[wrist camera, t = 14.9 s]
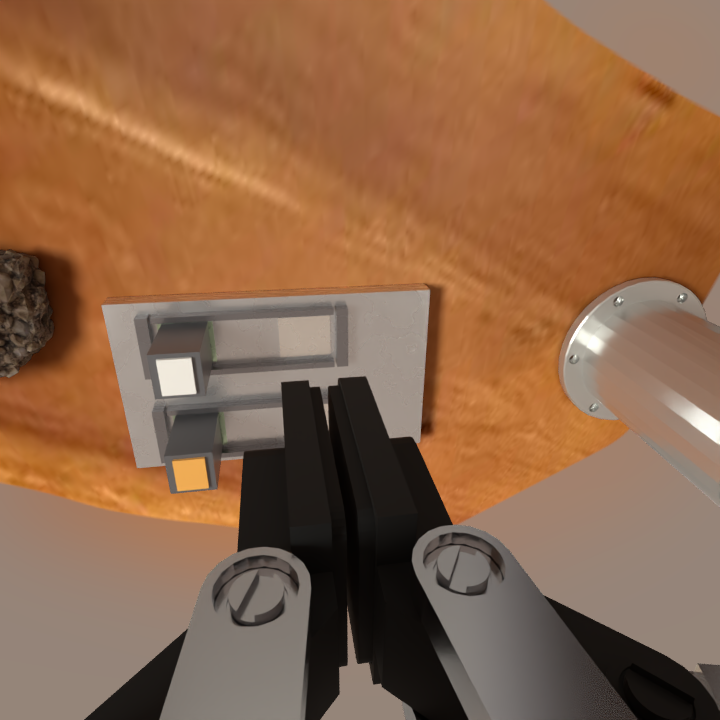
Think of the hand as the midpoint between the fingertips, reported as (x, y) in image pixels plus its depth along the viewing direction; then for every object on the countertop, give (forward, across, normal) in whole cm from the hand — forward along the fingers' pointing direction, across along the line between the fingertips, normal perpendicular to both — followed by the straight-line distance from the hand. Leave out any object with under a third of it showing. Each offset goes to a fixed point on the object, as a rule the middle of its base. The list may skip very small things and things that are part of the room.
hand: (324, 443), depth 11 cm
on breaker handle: (+26, +7, +8) cm, 28 cm away
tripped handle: (+25, +7, +16) cm, 30 cm away
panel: (+27, +1, +12) cm, 30 cm away
